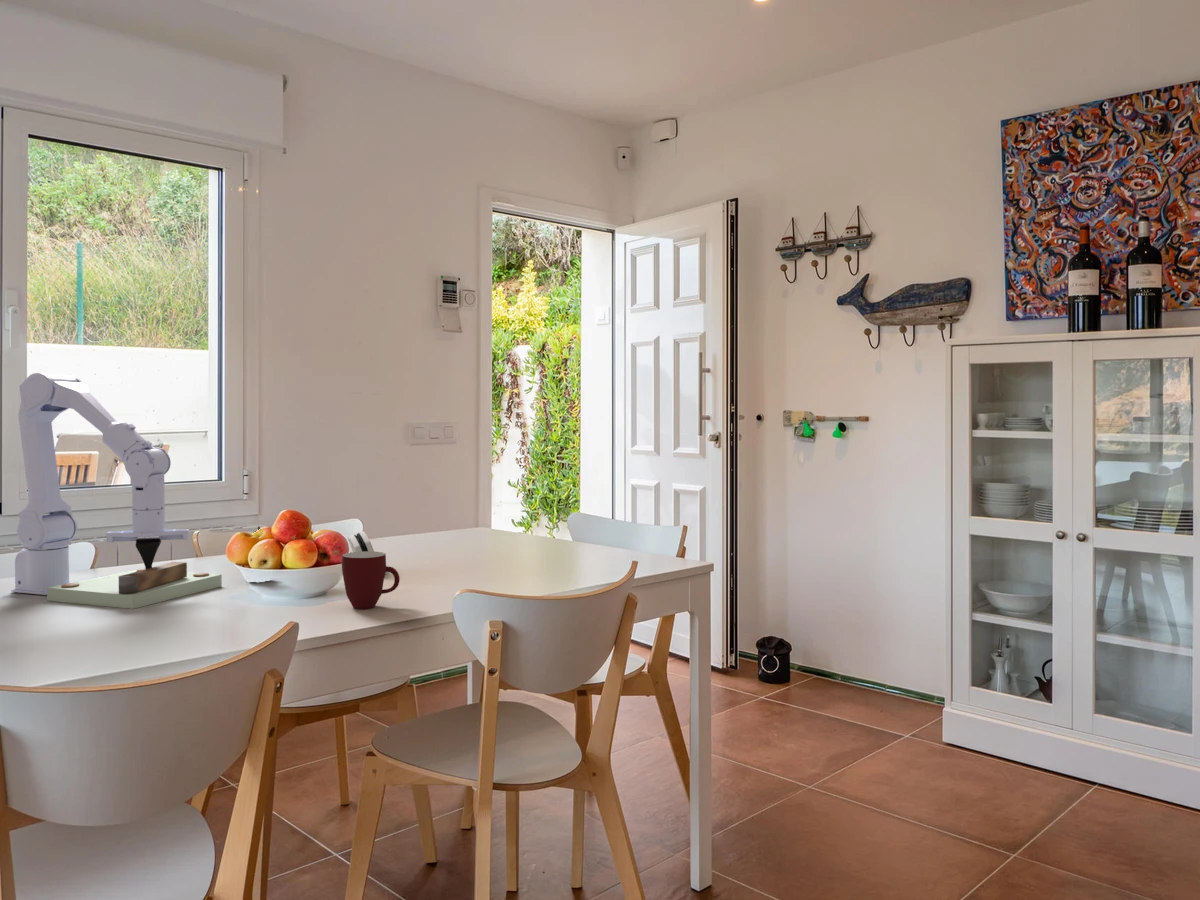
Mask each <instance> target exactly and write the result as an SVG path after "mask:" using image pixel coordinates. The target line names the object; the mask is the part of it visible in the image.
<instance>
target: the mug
mask: <svg viewBox="0 0 1200 900" xmlns="http://www.w3.org/2000/svg"><path fill="white" fill-rule="evenodd" d="M341 572H342V573H341V574H342V578H343V582H344V583H343V585H344V589H345V594H346V598H347V599H348V601H349V603H350V605H351V607H352V608H354V609H356V610H367V609H369V610H370V609H373V608H375V606H376V604H377V603H378V601H379V600H380V597H382V594H384V595H385V594H387V593H391V592H394V591H395V590H396V589H397V588H398V587H399V584H400V578H401V577H400V575H399V572H398V570H397V569H395V568H394V567H393V566H387V555H386V553H385V552H382V551H374V552H373V551H363V552H353V551H352V552H347V553H343V554H342V555H341ZM386 572H388V573H390V574H392V576H393V581H394V582H393V585H392V586H391V587H389V588H384V589H383V587H384V581H385V576H386V574H385V573H386Z"/></svg>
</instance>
